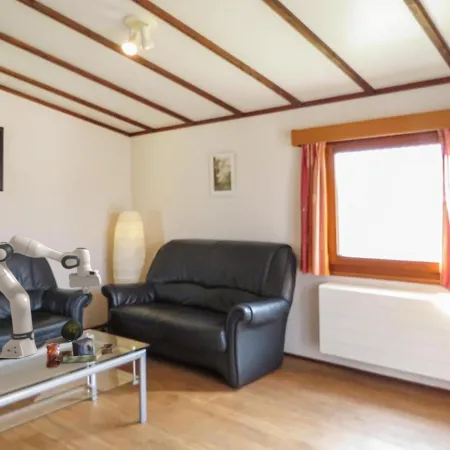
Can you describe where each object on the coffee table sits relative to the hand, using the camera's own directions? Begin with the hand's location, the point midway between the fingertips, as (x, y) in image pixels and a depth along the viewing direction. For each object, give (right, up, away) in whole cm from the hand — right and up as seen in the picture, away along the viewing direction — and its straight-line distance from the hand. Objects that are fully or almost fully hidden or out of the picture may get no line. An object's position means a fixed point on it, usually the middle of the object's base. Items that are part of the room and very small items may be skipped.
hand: (86, 293), depth 297 cm
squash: (-13, -34, +14) cm, 39 cm away
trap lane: (+7, -34, -20) cm, 40 cm away
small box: (+6, -35, -25) cm, 43 cm away
